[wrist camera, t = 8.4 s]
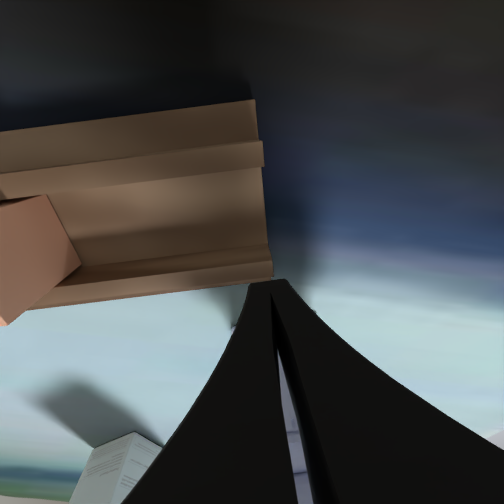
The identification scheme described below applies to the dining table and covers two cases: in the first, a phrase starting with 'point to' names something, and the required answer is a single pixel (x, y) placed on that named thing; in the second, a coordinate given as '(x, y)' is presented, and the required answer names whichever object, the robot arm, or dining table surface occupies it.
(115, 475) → the supplement box
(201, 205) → the brown wooden tray
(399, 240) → the dining table surface
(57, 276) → the terracotta block
